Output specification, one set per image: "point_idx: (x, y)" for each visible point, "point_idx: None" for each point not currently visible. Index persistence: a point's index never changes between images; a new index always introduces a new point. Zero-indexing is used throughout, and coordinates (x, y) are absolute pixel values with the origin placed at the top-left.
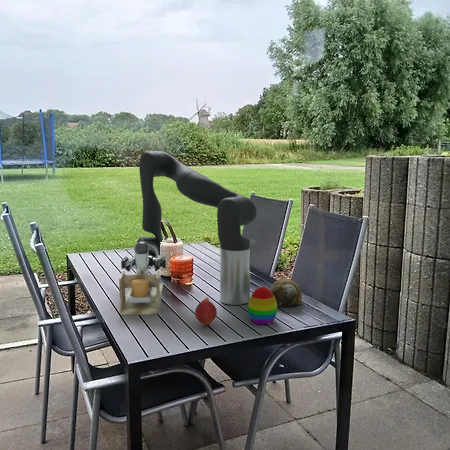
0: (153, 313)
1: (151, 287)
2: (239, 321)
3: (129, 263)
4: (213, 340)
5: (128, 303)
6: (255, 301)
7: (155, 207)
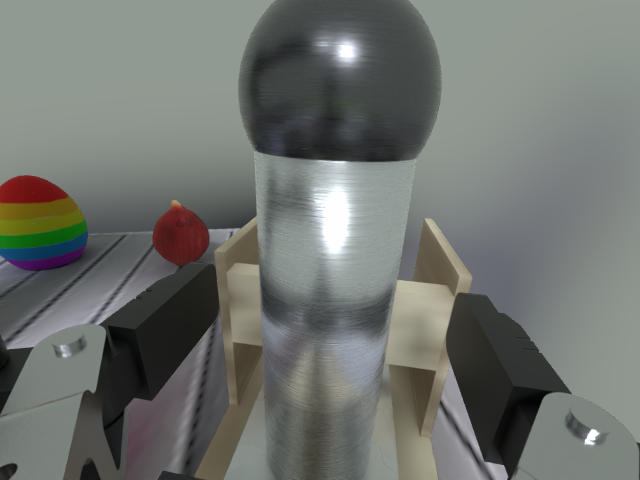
0: None
1: (260, 397)
2: (97, 267)
3: (488, 328)
4: (214, 236)
5: (393, 395)
6: (73, 201)
7: None
